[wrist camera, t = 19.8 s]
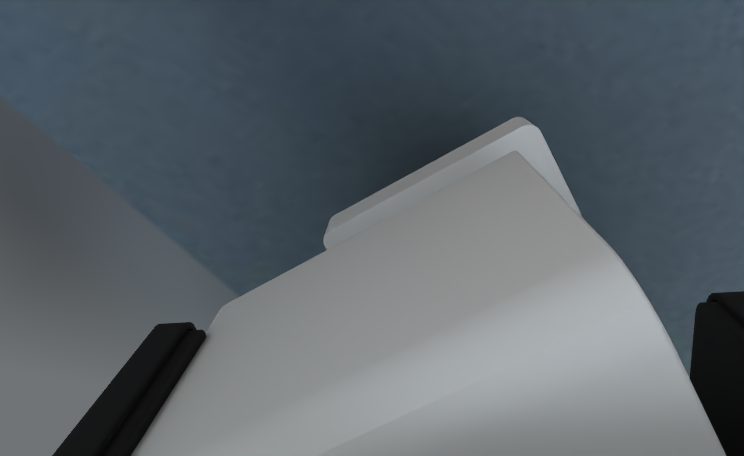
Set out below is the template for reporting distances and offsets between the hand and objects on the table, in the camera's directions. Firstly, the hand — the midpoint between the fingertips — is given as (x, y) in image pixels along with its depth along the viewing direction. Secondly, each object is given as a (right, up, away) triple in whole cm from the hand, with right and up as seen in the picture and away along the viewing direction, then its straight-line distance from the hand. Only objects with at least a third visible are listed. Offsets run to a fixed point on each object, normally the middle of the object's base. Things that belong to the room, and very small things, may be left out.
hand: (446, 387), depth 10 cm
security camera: (+1, +2, +6) cm, 6 cm away
